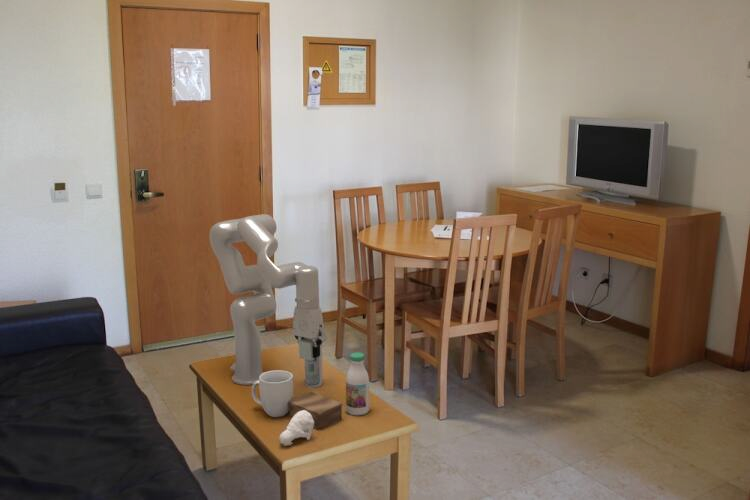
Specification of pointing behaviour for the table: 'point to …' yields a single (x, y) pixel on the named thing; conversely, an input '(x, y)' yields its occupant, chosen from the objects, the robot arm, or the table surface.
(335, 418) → the walnut box
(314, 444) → the table surface
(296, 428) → the white animal figurine
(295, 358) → the table surface
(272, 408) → the mug
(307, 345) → the block
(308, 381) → the spray can
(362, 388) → the milk bottle
